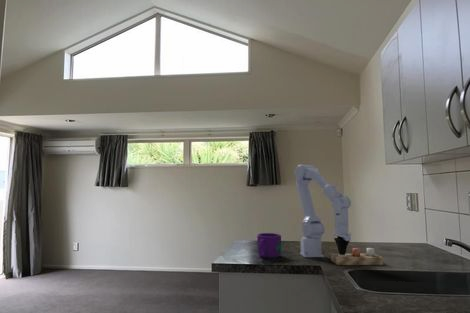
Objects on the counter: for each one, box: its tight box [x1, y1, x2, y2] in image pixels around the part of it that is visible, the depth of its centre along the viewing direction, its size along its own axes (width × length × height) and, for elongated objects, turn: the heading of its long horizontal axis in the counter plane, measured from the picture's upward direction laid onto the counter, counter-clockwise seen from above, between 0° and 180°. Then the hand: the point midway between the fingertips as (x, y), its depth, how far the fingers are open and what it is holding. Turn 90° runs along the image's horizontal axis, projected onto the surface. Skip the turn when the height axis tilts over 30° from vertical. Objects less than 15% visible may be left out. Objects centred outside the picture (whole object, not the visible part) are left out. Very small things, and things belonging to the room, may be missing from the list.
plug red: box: [352, 247, 361, 257], centre depth 146 cm, size 3×3×3 cm
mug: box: [256, 232, 282, 259], centre depth 156 cm, size 17×11×10 cm, turn 152°
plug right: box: [366, 247, 375, 257], centre depth 147 cm, size 3×3×3 cm
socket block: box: [330, 253, 384, 266], centre depth 146 cm, size 20×8×3 cm, turn 94°
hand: (342, 254), depth 146 cm, fingers closed, pressing on plug left
